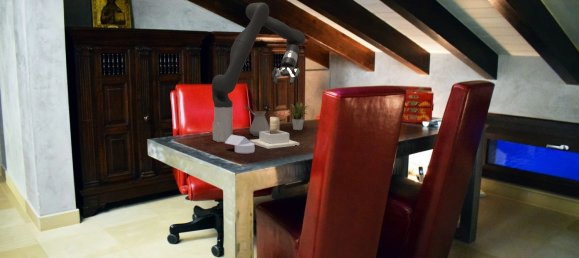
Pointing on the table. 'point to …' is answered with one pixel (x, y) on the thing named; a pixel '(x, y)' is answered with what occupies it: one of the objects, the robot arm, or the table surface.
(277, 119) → the coupling plug
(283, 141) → the socket plate
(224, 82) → the robot arm
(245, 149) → the wedge on round base
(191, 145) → the table surface
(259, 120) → the coffee pot
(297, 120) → the house plant
